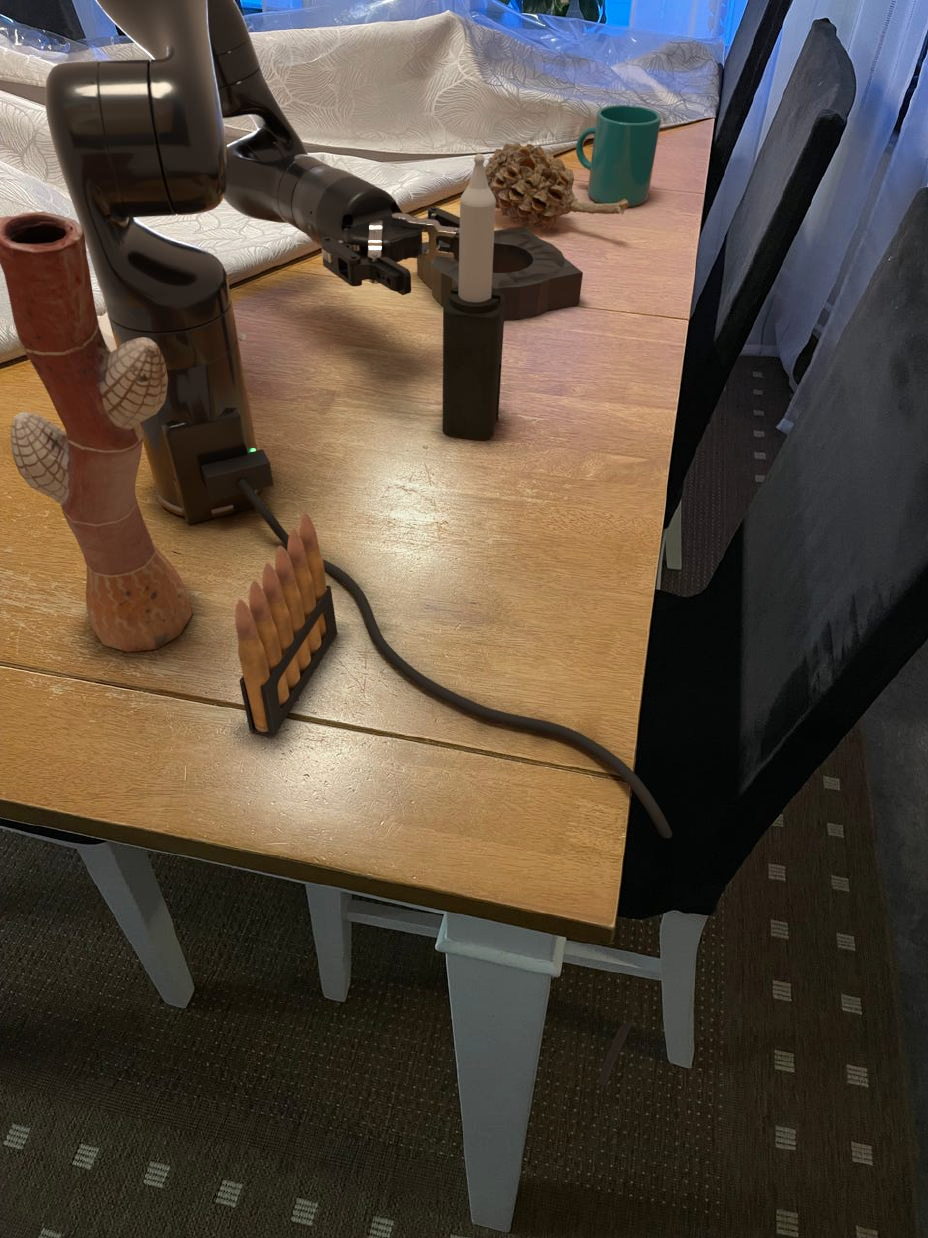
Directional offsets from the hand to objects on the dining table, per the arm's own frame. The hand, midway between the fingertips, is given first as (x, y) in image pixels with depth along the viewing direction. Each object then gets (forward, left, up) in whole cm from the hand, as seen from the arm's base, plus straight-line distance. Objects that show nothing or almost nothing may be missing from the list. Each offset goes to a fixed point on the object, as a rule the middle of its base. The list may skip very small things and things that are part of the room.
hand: (445, 271), depth 80 cm
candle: (-4, -1, -14) cm, 15 cm away
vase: (-19, +33, -14) cm, 41 cm away
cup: (+44, -47, -14) cm, 66 cm away
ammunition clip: (-29, +25, -14) cm, 41 cm away
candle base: (+22, -17, -14) cm, 31 cm away
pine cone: (+36, -33, -14) cm, 51 cm away
